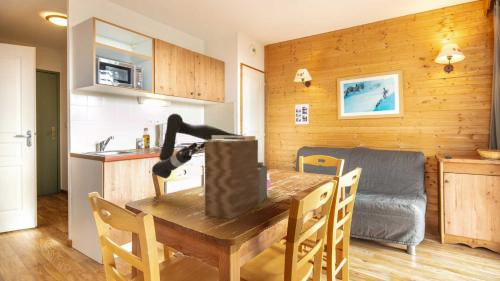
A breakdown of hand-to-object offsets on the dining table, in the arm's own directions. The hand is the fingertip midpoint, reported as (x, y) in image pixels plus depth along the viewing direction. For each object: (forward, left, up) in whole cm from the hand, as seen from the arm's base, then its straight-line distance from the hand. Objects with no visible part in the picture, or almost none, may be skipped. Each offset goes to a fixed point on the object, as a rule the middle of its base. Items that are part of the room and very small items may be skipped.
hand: (201, 143), depth 139 cm
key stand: (+2, +23, -30) cm, 37 cm away
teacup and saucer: (-12, -5, -30) cm, 33 cm away
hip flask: (-19, +24, -30) cm, 43 cm away
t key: (-3, +18, +2) cm, 18 cm away
